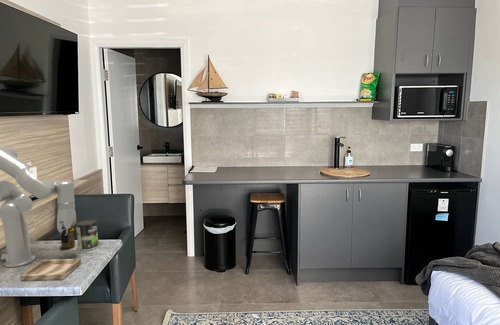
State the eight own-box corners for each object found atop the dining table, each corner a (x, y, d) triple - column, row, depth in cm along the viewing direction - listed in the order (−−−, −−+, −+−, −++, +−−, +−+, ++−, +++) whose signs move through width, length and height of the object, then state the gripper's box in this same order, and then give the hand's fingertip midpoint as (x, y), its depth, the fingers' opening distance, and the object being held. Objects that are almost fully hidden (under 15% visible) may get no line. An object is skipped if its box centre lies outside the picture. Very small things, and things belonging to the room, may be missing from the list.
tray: (21, 281, 150) (20, 275, 149) (43, 264, 166) (42, 259, 166) (62, 280, 150) (62, 274, 149) (81, 263, 166) (80, 258, 165)
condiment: (75, 243, 177) (74, 221, 175) (77, 249, 170) (75, 225, 168) (59, 246, 173) (57, 223, 172) (60, 252, 166) (58, 228, 165)
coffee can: (103, 244, 190) (100, 219, 188) (89, 251, 180) (87, 225, 178) (87, 242, 193) (85, 218, 191) (73, 250, 183) (70, 224, 181)
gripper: (68, 200, 178) (70, 234, 181) (48, 210, 161) (51, 246, 163) (82, 201, 178) (84, 234, 181) (64, 210, 161) (67, 247, 163)
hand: (68, 239), depth 172 cm, fingers closed on condiment, 6 cm apart
